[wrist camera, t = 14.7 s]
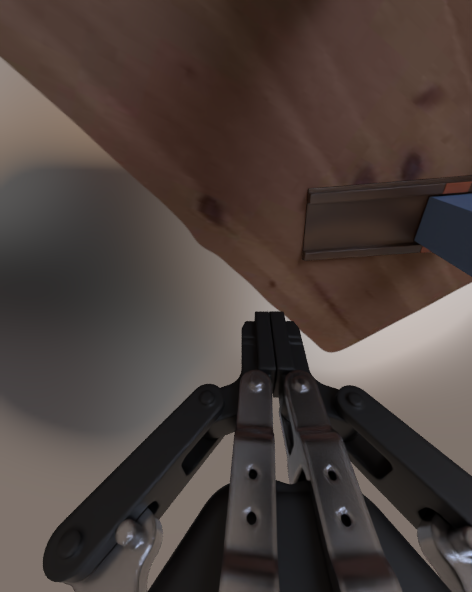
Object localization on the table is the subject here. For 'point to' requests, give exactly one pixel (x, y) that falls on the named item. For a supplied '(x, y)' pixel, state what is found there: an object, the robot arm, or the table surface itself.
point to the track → (371, 217)
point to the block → (448, 229)
